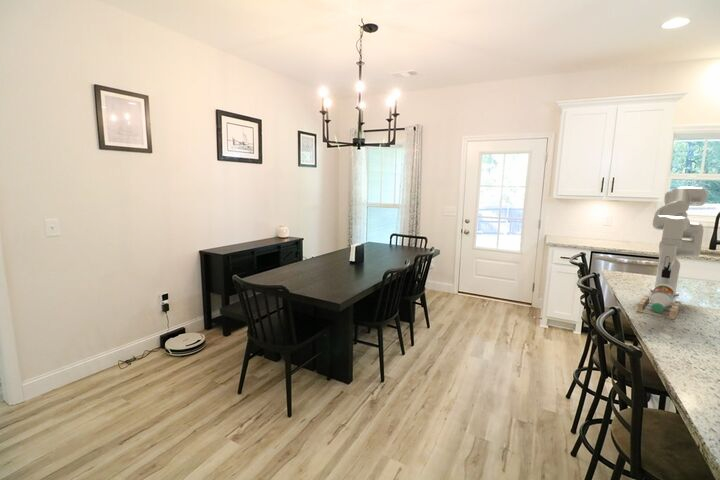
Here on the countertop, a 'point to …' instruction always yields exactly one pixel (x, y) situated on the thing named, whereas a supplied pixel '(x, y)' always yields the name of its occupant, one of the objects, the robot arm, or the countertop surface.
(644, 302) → the cradle
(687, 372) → the countertop surface
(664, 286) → the milk bottle
